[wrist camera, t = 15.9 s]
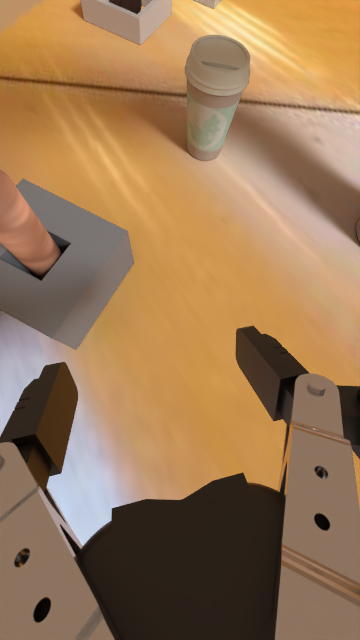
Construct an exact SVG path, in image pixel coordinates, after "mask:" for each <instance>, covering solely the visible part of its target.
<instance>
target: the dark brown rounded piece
mask: <svg viewBox="0 0 360 640" xmlns="http://www.w3.org/2000/svg"><path fill="white" fill-rule="evenodd" d="M109 2H110V3H113V4H115V5H117V6H119V7H122V8H124V9H126V10H129V11H131V12H133V13H135V14H138V13H139V12H140V10H141V5H142V0H109Z"/></svg>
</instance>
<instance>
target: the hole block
mask: <svg viewBox="0 0 360 640" xmlns="http://www.w3.org/2000/svg"><path fill="white" fill-rule="evenodd" d="M16 188H17V189H18V190H19V192H20V193H21V195H22V196H23V198H24V199H25V200H26V202H27V203H28V205H29V206H30V207H31V209H32V210H33V212H34V213H35V215H36V216H37V217H38V219H39V220H40V222H41V223H42V225H43V226H44V227H45V229H46V230H47V232H48V233H49V235H50V236H51V237H52V239H53V240H54V242H55V243H56V245H57V246H58V247H59V249H60V250H61V252H62V253H63V254H62V256H61V257H60V258H59V259H58V261H57V262H56V263H55V265H54V266H53V267H52V268H51V270H50V271H49V272H48V273H47V275H46V276H45V277H44V278H43V280H42V281H40V280H39V279H38V278H37V277H36V276H35V275H34V274H33V273H32V272H31V271H30V270H29V269H28V268H27V267H26V266H24V265H23V264H22V263H21V262H20V261H19V260H18V259H17V258H16V257H15V256H14V255H13V254H12V253H11V252H10V251H8V250H7V249H6V248H5V247H4V246H3V245H2V244H1V243H0V310H1V311H3V312H5V313H7V314H9V315H10V316H12V317H14V318H16V319H18V320H20V321H21V322H23V323H25V324H27V325H29V326H30V327H32V328H34V329H36V330H38V331H40V332H41V333H43V334H45V335H47V336H49V337H51V338H53V339H55V340H57V341H59V342H61V343H63V344H65V345H67V346H69V347H71V348H73V349H76V350H77V348H78V347H79V345H80V344H81V342H82V341H83V339H84V338H85V336H86V335H87V333H88V332H89V330H90V329H91V327H92V326H93V324H94V323H95V321H96V320H97V318H98V317H99V315H100V314H101V312H102V311H103V309H104V308H105V306H106V305H107V303H108V302H109V300H110V298H111V297H112V295H113V294H114V292H115V291H116V289H117V288H118V286H119V285H120V283H121V282H122V280H123V279H124V277H125V276H126V274H127V273H128V271H129V270H130V268H131V267H132V265H133V264H134V260H133V255H132V250H131V245H130V240H129V235H128V231H126V230H124V229H122V228H120V227H118V226H116V225H115V224H113V223H111V222H109V221H107V220H105V219H103V218H101V217H99V216H97V215H95V214H93V213H91V212H89V211H87V210H85V209H83V208H81V207H79V206H77V205H75V204H73V203H71V202H69V201H67V200H65V199H63V198H61V197H59V196H57V195H55V194H53V193H51V192H49V191H47V190H45V189H43V188H41V187H39V186H37V185H35V184H33V183H31V182H29V181H27V180H25V179H22V180H21V181H20V182H19V183H18V184H17V185H16Z"/></svg>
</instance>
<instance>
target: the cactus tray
mask: <svg viewBox="0 0 360 640" xmlns="http://www.w3.org/2000/svg"><path fill="white" fill-rule="evenodd" d="M194 1H197V2H199V3H201V4H204V5H206V6H208V7H211V8H213V9H214V8H215V7H216V6H217V5H218V4H219V3H220V1H221V0H194Z"/></svg>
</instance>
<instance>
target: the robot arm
mask: <svg viewBox="0 0 360 640" xmlns="http://www.w3.org/2000/svg"><path fill="white" fill-rule="evenodd" d="M356 232H357V237H358V239H359V241H360V219H359V221H358V223H357V225H356ZM236 360H237V363H238V365H239V367H240V369H241V370H242V372H243V374H244V375H245V377H246V378H247V380H248V381H249V383H250V385H251V386H252V388H253V389H254V391H255V393H256V394H257V396H258V397H259V399H260V400H261V402H262V404H263V405H264V407H265V408H266V410H267V412H268V413H269V415H270V416H271V418H272V419H273V421H277V420H281V419H283V420H284V421H285V423H286V424H287V425H286V431H285V439H284V448H283V456H282V465H281V473H280V479H279V485H278V491H277V490H274V489H272V488H270V487H267V486H264V485H261V484H256V483H247V481H246V478H245V476H244V473H240V474H236V475H232V476H229V477H225V478H222V479H218V480H214V481H212V482H210V483H209V484H207V485H205V486H204V487H202V488H201V489H199V490H197V491H196V492H194V493H193V494H191V495H189V496H188V497H186V498H184V499H182V500H157V499H145V500H141V501H137V502H134V503H130V504H127V505H123V506H119V507H116V508H112V521H110V522H109V523H107V524H106V525H104V526H103V527H102V528H101V529H99V530H98V531H97V532H96V533H95V534H94V535H93V536H92V537H91V538H90V539H89V540H88V541H87V542H86V544H85V545H84V546H82V545H81V543H80V541H79V540H78V538H77V537H76V535H75V534H74V532H73V531H72V529H71V528H70V526H69V524H68V522H67V521H66V519H65V517H64V515H63V514H62V512H61V510H60V509H59V507H58V505H57V503H56V502H55V500H54V498H53V496H52V495H51V493H50V491H49V489H48V488H47V483H48V479H49V476H53V475H57V474H61V472H62V467H63V463H64V458H65V454H66V450H67V445H68V441H69V436H70V432H71V428H72V423H73V419H74V414H75V410H76V406H77V401H78V391H77V387H76V385H75V382H74V380H73V378H72V375H71V373H70V371H69V369H68V366H67V364H66V363H65V362H61V363H56V364H51V365H46V366H45V367H44V368H43V370H42V373H41V375H40V377H39V379H34V380H33V381H32V382H31V383H30V384H29V385H28V386H27V387H26V388H25V389H24V391H23V393H22V395H21V397H20V399H19V402H18V403H17V405H16V407H15V411H13V413H12V415H11V417H10V419H9V421H8V423H7V425H6V427H5V429H4V431H3V432H2V434H1V436H0V640H360V509H359V501H358V493H357V485H356V478H355V470H354V462H353V454H352V450H353V451H354V452H355V454H356V455H357V456H358V457H359V459H360V386H337V385H335V384H334V383H333V382H332V381H331V380H329V379H327V378H325V377H323V376H321V375H317V374H310V373H309V372H308V371H307V370H306V369H305V368H304V367H303V366H302V365H301V364H300V363H299V362H298V361H297V360H296V359H295V358H294V357H293V356H292V355H291V354H290V353H288V351H287V350H286V349H285V348H284V347H282V345H281V344H280V343H279V342H278V341H277V340H276V339H275V338H273V337H271V336H269V335H267V334H261V333H260V332H259V331H258V330H257V329H256V328H255V327H254V326H249V327H244V328H239V329H237V331H236Z"/></svg>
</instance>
